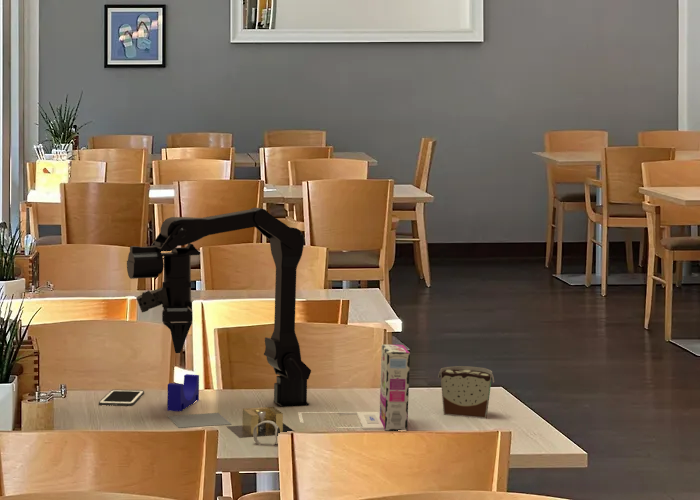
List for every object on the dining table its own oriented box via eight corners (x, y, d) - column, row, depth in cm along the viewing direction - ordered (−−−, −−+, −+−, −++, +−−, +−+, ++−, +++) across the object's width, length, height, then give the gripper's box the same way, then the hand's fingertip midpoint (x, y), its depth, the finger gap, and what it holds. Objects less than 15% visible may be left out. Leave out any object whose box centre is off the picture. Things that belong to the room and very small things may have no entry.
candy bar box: (409, 432, 256) (410, 352, 254) (384, 432, 255) (386, 352, 254) (402, 419, 267) (403, 343, 265) (378, 419, 266) (380, 343, 265)
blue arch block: (179, 400, 284) (180, 373, 283) (198, 401, 283) (199, 375, 282) (160, 411, 272) (161, 383, 272) (180, 412, 271) (180, 385, 271)
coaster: (218, 415, 268) (218, 412, 268) (231, 426, 257) (231, 423, 257) (167, 418, 264) (167, 415, 264) (178, 430, 254) (178, 427, 254)
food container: (498, 413, 274) (500, 368, 273) (492, 419, 269) (493, 373, 268) (444, 408, 278) (445, 364, 277) (437, 414, 273) (438, 368, 272)
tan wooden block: (273, 425, 257) (273, 406, 256) (282, 433, 251) (282, 413, 250) (242, 428, 254) (242, 408, 254) (251, 435, 248) (251, 415, 248)
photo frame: (389, 426, 257) (301, 427, 256) (389, 431, 257) (301, 432, 256) (381, 410, 272) (298, 411, 270) (381, 416, 272) (298, 416, 270)
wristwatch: (277, 449, 240) (277, 423, 240) (252, 447, 241) (252, 422, 240) (280, 445, 243) (281, 420, 242) (255, 444, 244) (255, 418, 243)
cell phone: (97, 407, 276) (97, 402, 276) (111, 393, 290) (111, 389, 290) (132, 407, 276) (132, 403, 276) (145, 394, 290) (145, 390, 290)
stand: (282, 425, 260) (282, 405, 259) (297, 436, 250) (297, 415, 250) (226, 428, 256) (226, 408, 255) (239, 440, 246) (239, 419, 246)
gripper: (140, 272, 275) (141, 342, 276) (137, 282, 256) (138, 357, 258) (191, 271, 276) (192, 341, 278) (192, 281, 258) (192, 356, 259)
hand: (177, 349), depth 268 cm, fingers open, 9 cm apart
